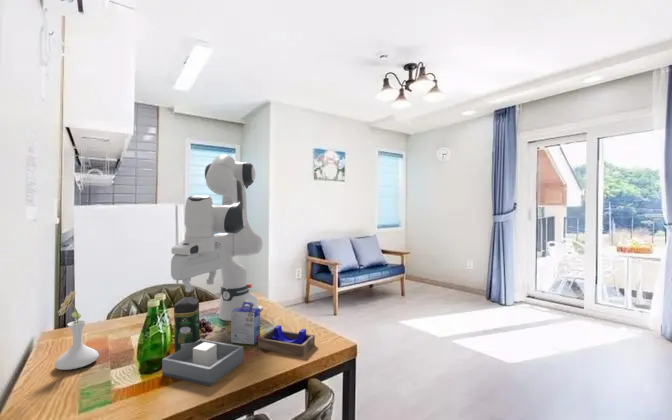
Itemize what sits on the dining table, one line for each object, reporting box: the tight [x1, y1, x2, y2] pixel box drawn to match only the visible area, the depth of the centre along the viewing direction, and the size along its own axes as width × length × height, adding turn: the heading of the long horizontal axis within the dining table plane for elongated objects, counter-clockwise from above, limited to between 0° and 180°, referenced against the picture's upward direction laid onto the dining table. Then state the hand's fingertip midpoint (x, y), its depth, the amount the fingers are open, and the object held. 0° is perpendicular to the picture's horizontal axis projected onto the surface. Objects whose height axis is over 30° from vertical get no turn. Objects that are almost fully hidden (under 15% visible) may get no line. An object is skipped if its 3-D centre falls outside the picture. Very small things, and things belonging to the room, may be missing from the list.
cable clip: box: [272, 324, 307, 345], centre depth 122 cm, size 12×4×6 cm, turn 70°
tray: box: [161, 338, 245, 387], centre depth 104 cm, size 16×18×5 cm
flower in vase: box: [54, 290, 100, 371], centre depth 106 cm, size 13×11×25 cm
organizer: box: [257, 328, 316, 357], centre depth 120 cm, size 10×18×4 cm, turn 70°
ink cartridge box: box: [230, 302, 261, 345], centre depth 125 cm, size 10×6×14 cm, turn 78°
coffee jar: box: [173, 296, 201, 353], centre depth 117 cm, size 10×8×19 cm
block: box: [193, 342, 217, 367], centre depth 104 cm, size 5×5×6 cm
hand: (200, 287), depth 106 cm, fingers open, 8 cm apart
